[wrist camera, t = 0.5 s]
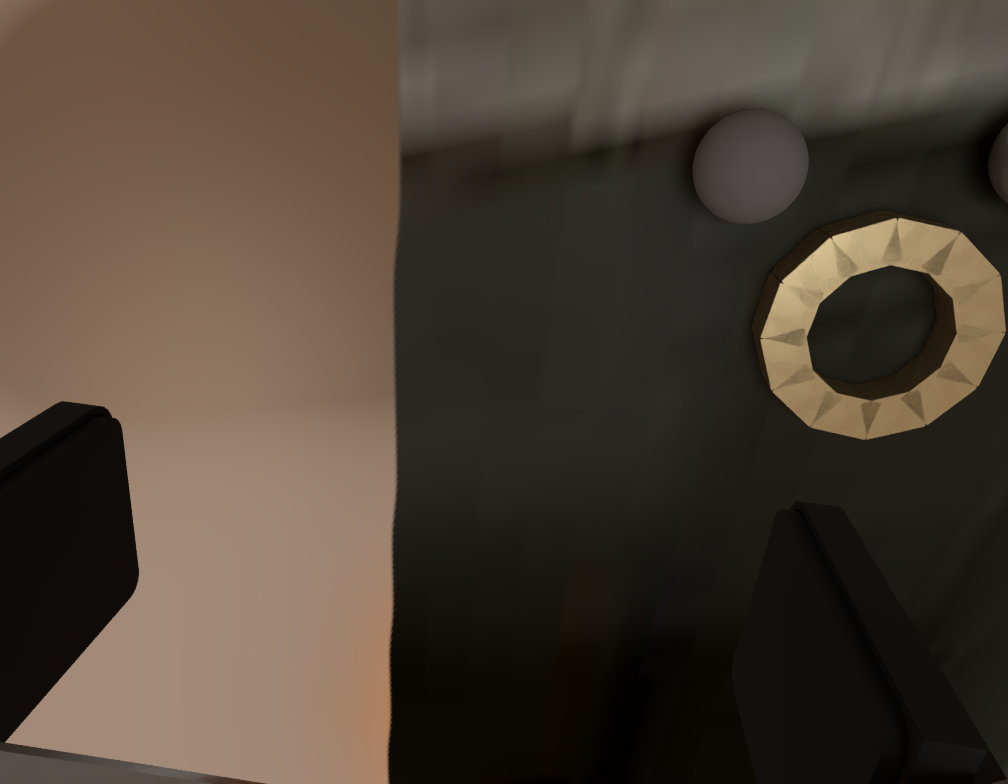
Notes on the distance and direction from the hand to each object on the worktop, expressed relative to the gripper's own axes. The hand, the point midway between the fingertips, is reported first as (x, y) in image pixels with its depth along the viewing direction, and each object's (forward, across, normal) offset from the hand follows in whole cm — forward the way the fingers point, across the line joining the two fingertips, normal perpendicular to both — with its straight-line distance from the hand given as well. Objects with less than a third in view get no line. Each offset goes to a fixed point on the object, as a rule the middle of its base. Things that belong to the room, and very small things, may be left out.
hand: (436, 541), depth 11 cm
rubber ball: (+32, -10, -3) cm, 33 cm away
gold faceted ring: (+34, -19, +5) cm, 40 cm away
